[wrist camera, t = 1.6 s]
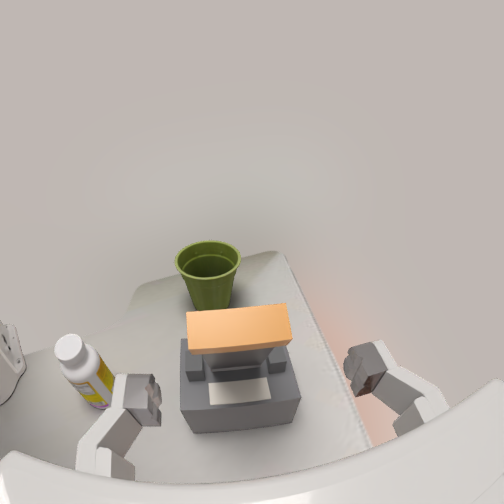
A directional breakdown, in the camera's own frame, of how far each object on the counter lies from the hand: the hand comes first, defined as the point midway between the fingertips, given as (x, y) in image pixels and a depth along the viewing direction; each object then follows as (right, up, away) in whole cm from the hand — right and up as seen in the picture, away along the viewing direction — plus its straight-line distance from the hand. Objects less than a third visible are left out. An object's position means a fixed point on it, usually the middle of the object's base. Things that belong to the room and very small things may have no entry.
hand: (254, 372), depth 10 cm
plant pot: (-8, -6, +44) cm, 45 cm away
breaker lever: (-2, -8, +21) cm, 22 cm away
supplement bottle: (-24, -18, +25) cm, 39 cm away
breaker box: (-2, -17, +27) cm, 32 cm away
